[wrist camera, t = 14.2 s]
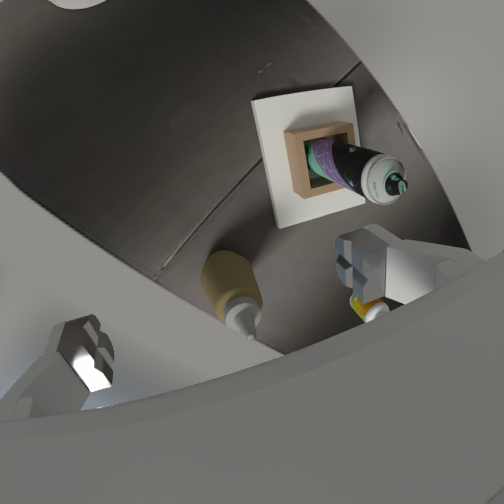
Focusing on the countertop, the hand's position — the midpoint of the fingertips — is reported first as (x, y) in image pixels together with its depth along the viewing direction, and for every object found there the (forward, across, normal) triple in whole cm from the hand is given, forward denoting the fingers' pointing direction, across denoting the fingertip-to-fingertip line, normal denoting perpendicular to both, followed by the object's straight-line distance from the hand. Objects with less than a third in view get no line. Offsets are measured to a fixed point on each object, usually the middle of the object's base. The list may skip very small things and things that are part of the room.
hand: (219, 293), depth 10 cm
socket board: (+37, -20, +6) cm, 43 cm away
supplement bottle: (+37, -27, +37) cm, 59 cm away
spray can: (+36, -20, +6) cm, 41 cm away
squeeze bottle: (+37, -2, +20) cm, 42 cm away
